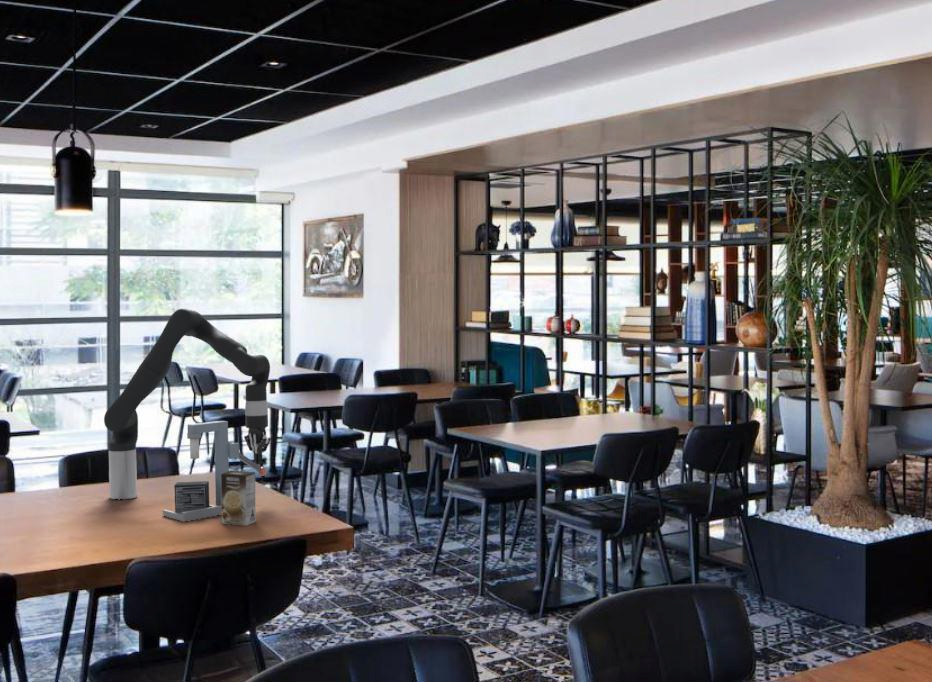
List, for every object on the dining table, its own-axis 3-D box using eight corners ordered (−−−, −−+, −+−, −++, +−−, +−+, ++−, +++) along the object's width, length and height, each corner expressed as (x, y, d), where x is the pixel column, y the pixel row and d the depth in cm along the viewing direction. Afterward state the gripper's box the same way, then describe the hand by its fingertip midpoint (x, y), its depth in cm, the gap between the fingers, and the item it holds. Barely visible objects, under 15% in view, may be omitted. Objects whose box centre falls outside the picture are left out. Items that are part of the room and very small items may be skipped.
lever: (265, 477, 350) (269, 470, 351) (228, 452, 339) (232, 444, 341) (260, 476, 352) (264, 469, 353) (223, 451, 342) (227, 443, 343)
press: (162, 516, 334) (160, 424, 332) (223, 505, 350) (221, 418, 348) (183, 522, 324) (181, 428, 323) (244, 510, 340) (243, 421, 339)
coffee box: (220, 524, 321) (219, 473, 320) (231, 519, 327) (230, 470, 326) (246, 526, 318) (245, 475, 317) (256, 521, 324) (255, 471, 323)
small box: (210, 511, 340) (209, 480, 340) (207, 515, 334) (207, 483, 333) (177, 512, 339) (176, 481, 338) (174, 517, 332) (173, 485, 332)
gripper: (277, 413, 347) (278, 464, 347) (255, 411, 356) (256, 460, 357) (258, 416, 341) (259, 467, 342) (236, 413, 351) (237, 463, 351)
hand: (257, 463), depth 349 cm, fingers closed
